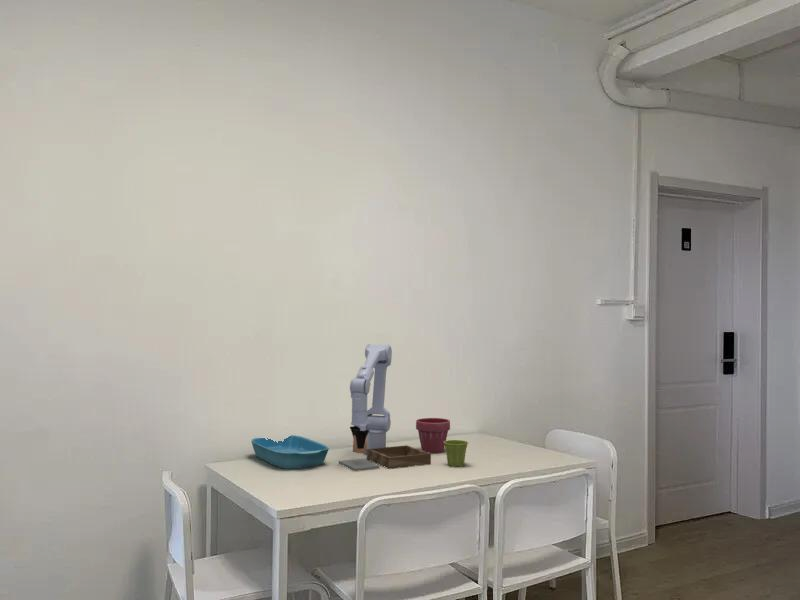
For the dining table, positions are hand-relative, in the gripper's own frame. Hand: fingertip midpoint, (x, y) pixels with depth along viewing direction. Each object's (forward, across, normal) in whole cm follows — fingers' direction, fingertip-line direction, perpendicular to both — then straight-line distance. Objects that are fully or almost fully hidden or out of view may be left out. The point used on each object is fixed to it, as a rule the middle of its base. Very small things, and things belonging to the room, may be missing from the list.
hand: (358, 447), depth 270 cm
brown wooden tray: (+7, +4, -16) cm, 18 cm away
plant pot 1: (+7, +22, -36) cm, 42 cm away
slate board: (+7, 0, 0) cm, 7 cm away
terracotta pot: (+2, 0, 0) cm, 2 cm away
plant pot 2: (+7, -5, -36) cm, 38 cm away
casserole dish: (+8, +14, +24) cm, 29 cm away
